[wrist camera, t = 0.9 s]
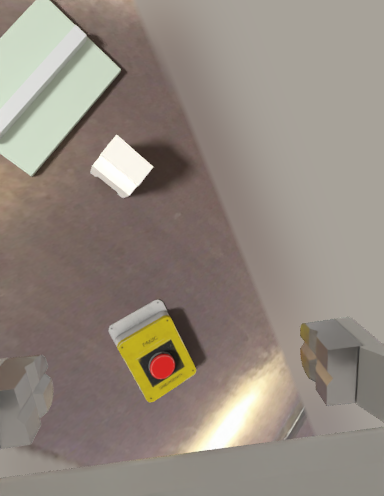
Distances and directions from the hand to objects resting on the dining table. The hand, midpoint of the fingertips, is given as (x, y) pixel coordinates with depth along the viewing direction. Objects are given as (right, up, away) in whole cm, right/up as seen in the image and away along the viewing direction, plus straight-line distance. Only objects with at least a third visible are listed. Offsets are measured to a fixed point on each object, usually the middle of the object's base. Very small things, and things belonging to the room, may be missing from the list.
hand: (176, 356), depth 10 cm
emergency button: (-6, -13, +40) cm, 42 cm away
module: (-10, +14, +34) cm, 38 cm away
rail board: (-20, +24, +30) cm, 43 cm away
